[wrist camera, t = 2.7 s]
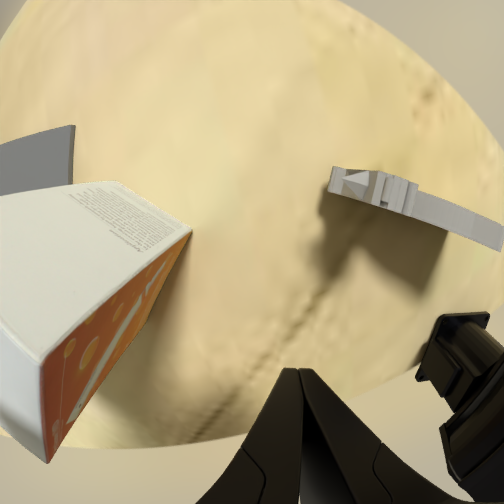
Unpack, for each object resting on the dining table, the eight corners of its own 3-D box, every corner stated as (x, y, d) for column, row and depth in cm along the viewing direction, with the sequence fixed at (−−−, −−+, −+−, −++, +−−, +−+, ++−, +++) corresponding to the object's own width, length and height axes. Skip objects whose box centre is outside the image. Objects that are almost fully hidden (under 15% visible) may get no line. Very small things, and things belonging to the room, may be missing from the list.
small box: (147, 323, 18) (48, 468, 6) (79, 276, 17) (-48, 370, 5) (197, 227, 16) (39, 368, 3) (116, 176, 15) (-76, 209, 3)
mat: (75, 125, 14) (71, 124, 14) (94, 352, 19) (92, 355, 19) (-30, 157, 15) (-33, 157, 14) (-11, 311, 20) (-13, 313, 19)
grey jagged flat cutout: (447, 229, 15) (316, 188, 15) (451, 211, 15) (321, 165, 15) (501, 253, 10) (346, 197, 9) (508, 228, 9) (354, 161, 9)
